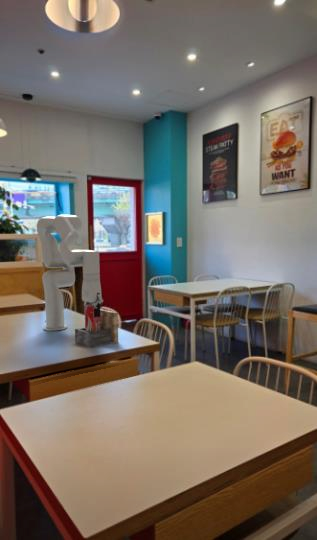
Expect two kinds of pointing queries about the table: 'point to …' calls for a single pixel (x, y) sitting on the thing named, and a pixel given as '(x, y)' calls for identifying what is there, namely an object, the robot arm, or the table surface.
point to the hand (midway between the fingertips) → (92, 315)
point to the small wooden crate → (104, 335)
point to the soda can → (91, 319)
